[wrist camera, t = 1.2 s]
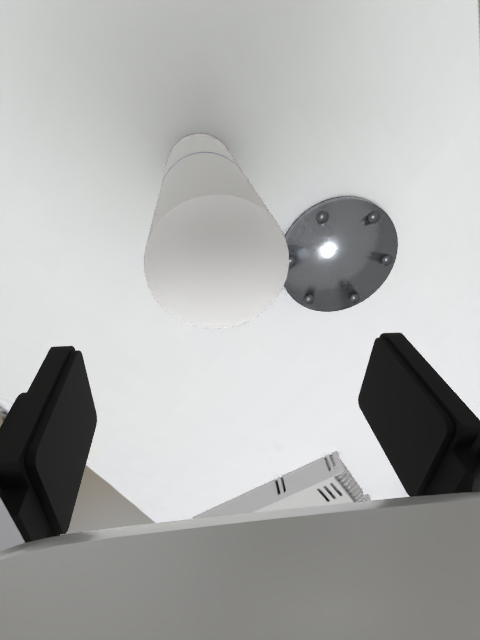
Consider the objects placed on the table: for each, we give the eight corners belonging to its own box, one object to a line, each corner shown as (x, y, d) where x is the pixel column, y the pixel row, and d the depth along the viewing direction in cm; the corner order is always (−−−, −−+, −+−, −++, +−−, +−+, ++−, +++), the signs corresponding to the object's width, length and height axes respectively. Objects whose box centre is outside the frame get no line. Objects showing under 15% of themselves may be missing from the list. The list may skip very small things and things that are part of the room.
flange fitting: (407, 197, 43) (434, 210, 38) (376, 305, 51) (396, 327, 46) (213, 195, 40) (216, 209, 35) (213, 310, 48) (215, 334, 44)
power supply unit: (366, 491, 79) (376, 514, 74) (237, 547, 85) (240, 571, 81) (335, 447, 69) (344, 471, 65) (191, 514, 75) (192, 539, 71)
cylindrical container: (197, 116, 36) (214, 157, 15) (247, 169, 39) (317, 263, 18) (153, 172, 38) (112, 274, 17) (203, 217, 41) (221, 350, 21)
